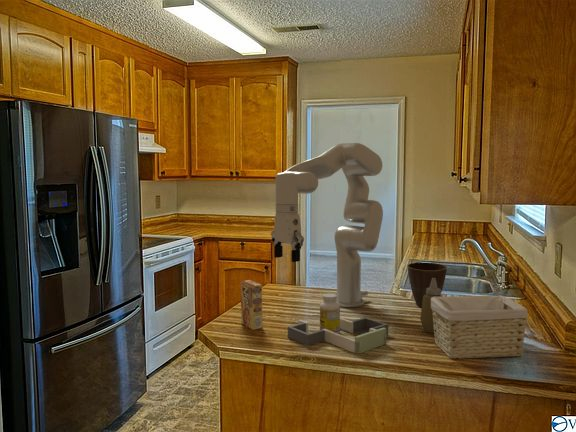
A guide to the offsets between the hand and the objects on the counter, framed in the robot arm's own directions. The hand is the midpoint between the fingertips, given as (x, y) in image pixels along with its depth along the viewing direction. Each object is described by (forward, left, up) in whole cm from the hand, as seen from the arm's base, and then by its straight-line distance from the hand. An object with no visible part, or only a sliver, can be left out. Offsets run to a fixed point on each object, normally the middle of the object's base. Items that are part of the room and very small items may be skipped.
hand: (286, 259), depth 167 cm
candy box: (+9, -9, -24) cm, 27 cm away
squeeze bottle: (-35, +34, -24) cm, 55 cm away
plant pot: (-58, +15, -24) cm, 65 cm away
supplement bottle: (-7, +14, -24) cm, 29 cm away
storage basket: (-31, +52, -24) cm, 65 cm away
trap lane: (-7, +19, -24) cm, 31 cm away
